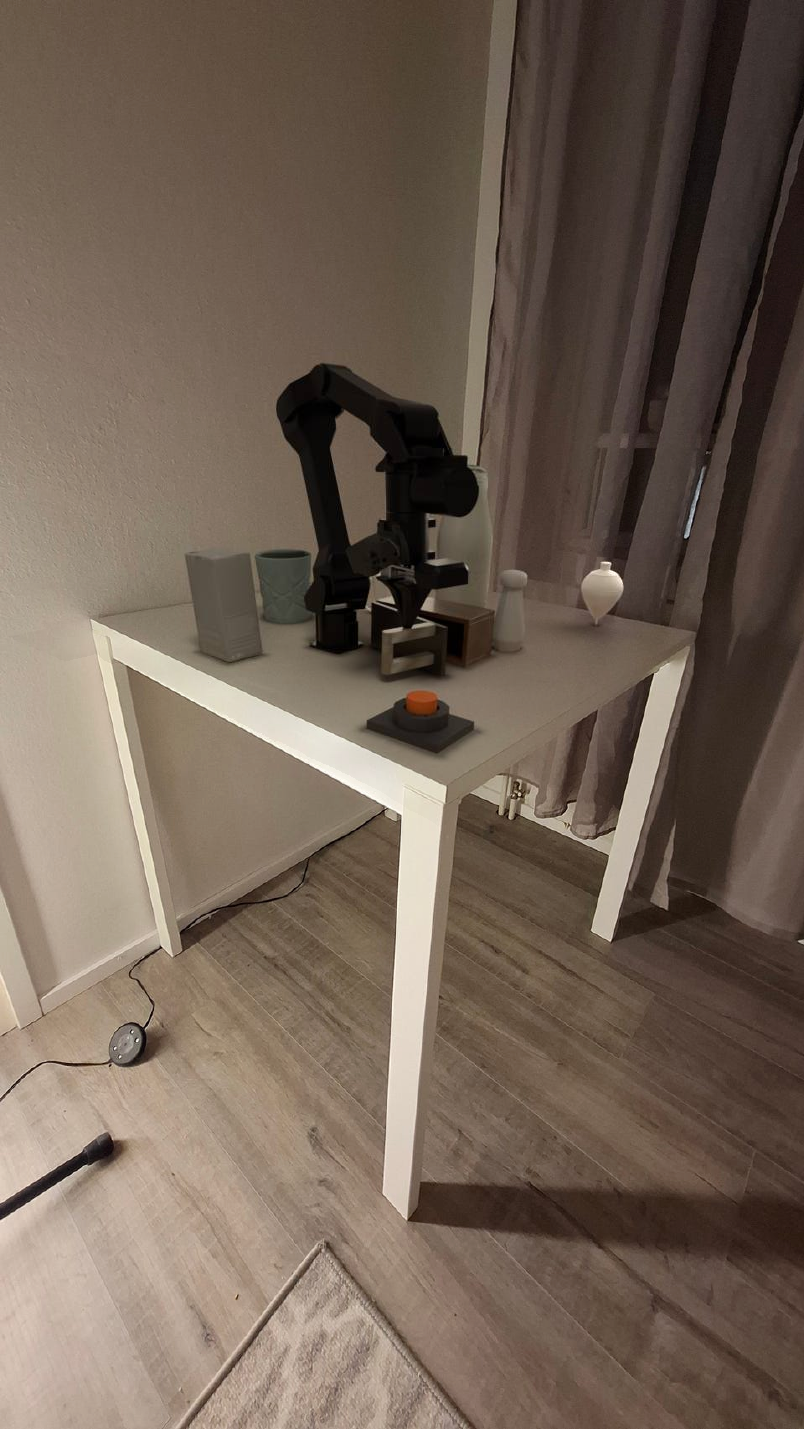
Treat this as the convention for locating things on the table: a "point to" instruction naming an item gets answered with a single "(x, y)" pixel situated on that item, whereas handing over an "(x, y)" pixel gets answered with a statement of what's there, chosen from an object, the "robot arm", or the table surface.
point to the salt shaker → (510, 613)
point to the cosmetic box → (224, 603)
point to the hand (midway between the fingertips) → (407, 628)
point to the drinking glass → (284, 584)
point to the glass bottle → (469, 547)
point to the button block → (421, 726)
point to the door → (407, 642)
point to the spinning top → (601, 590)
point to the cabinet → (459, 628)
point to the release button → (421, 702)
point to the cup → (379, 590)
